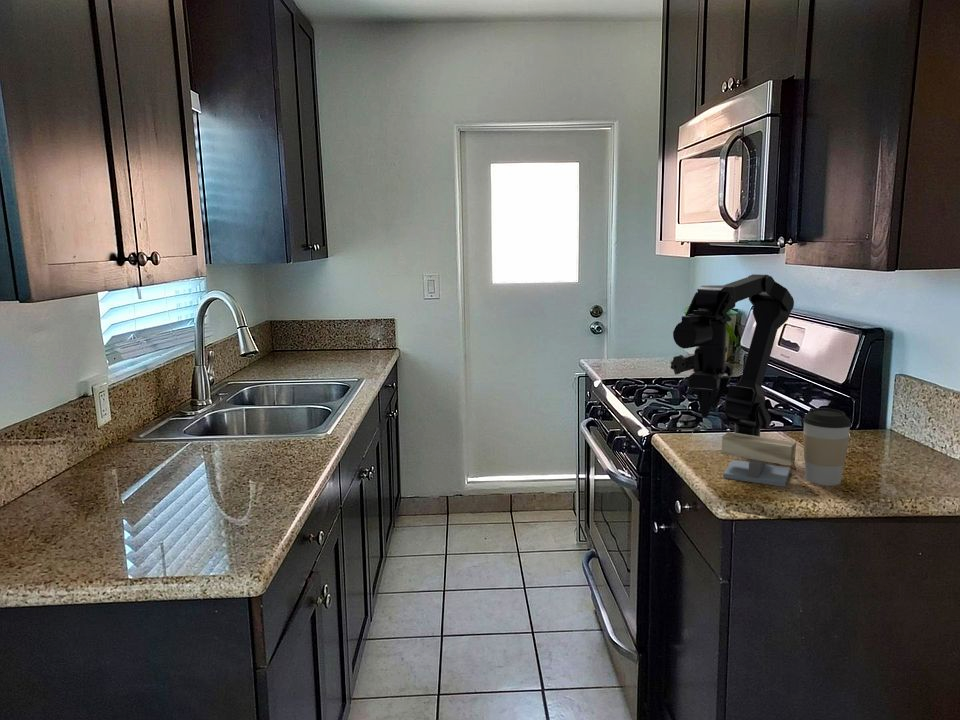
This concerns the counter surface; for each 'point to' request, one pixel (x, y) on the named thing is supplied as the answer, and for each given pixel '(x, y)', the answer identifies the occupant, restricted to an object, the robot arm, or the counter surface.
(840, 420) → the coffee cup
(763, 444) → the ash bar
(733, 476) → the ridge stand
